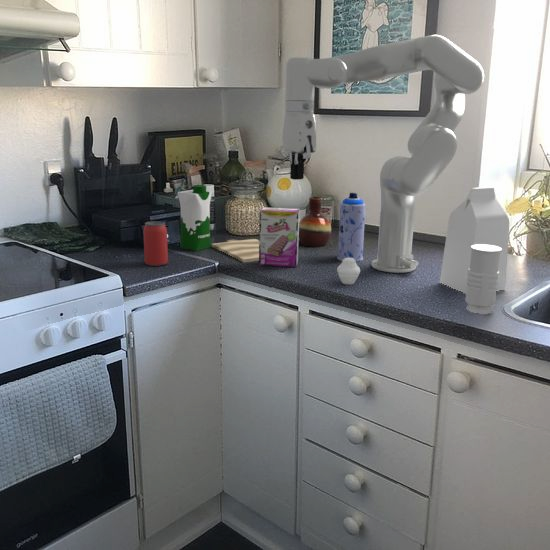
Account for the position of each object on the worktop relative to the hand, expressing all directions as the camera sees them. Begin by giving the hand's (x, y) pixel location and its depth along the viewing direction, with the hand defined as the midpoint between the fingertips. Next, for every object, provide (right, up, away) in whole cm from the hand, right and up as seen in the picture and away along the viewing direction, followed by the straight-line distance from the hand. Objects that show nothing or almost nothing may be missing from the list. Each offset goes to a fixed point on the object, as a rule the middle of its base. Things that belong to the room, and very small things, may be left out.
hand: (296, 178), depth 166 cm
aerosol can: (+17, -21, +23) cm, 35 cm away
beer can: (-40, -23, +13) cm, 48 cm away
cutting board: (-14, -18, +30) cm, 38 cm away
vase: (+7, -16, +41) cm, 44 cm away
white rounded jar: (+13, -28, -2) cm, 31 cm away
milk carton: (-31, -17, +33) cm, 49 cm away
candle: (+42, -34, -21) cm, 58 cm away
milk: (+46, -29, -3) cm, 54 cm away
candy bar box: (-5, -23, +15) cm, 28 cm away
